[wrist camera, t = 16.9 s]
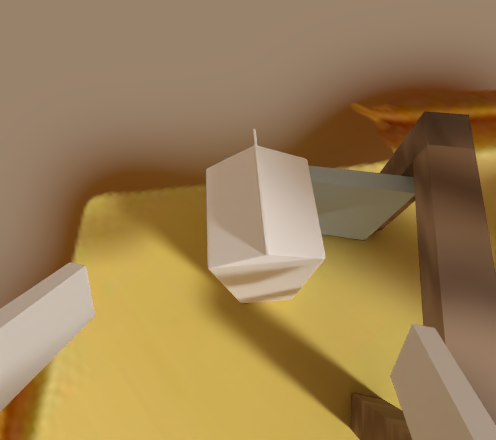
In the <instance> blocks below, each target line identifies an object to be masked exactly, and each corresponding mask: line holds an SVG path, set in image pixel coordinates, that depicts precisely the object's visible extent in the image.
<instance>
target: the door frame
mask: <svg viewBox="0 0 496 440" xmlns="http://www.w3.org/2000/svg"><path fill="white" fill-rule="evenodd" d="M380 173H381V174H390V175H399V176H408V177H414V186H415V195H414V196H413V197H412V198H411V199H410V200H409V201H408V202H407V203H406V204H404V205H403V206H402V207H401V208H400V209H399V210H398V211H397V212H396V213H394V214H393V215H392V216H391V217H390V218H389V219H388V220H387V221H386V222H385V223H383V224H382V225H381V226H380V227H379V228H378V229H377V230H382V229H383V228H384V227H385V226H386V225H387V224H389V223H390V222H391V221H392V220H393V219H394V218H395V217H397V216H398V215H399V214H400V213H401V212H402V211H404V210H405V209H406V208H407V207H408V206H409V205H410V204H412V203H413V202H414V201H415V202H416V218H417V233H418V249H419V265H420V281H421V296H422V312H423V326H427V327H433V328H435V329H436V331H437V332H438V334H439V335H440V337H441V339H442V340H443V342H444V343H445V345H446V347H447V348H448V350H449V351H450V353H451V355H452V356H453V358H454V359H455V361H456V363H457V364H458V366H459V367H460V369H461V371H462V372H463V374H464V375H465V377H466V379H467V380H468V382H469V383H470V385H471V387H472V388H473V390H474V391H475V393H476V395H477V396H478V398H479V399H480V401H481V403H482V404H483V406H484V407H485V409H486V411H487V412H488V414H489V415H490V417H491V419H492V420H493V422H494V423H495V425H496V274H495V268H494V262H493V256H492V250H491V244H490V238H489V233H488V227H487V221H486V215H485V209H484V203H483V197H482V191H481V185H480V179H479V173H478V167H477V161H476V155H475V149H474V143H473V137H472V131H471V125H470V119H469V115H463V114H450V113H438V112H426V111H424V113H423V114H422V116H421V117H420V118H419V120H418V121H417V123H416V124H415V125H414V127H413V128H412V129H411V131H410V132H409V134H408V135H407V136H406V138H405V139H404V140H403V142H402V143H401V145H400V146H399V147H398V149H397V150H396V151H395V153H394V154H393V156H392V157H391V158H390V160H389V161H388V162H387V164H386V165H385V167H384V168H383V169H382V171H381V172H380ZM350 429H351V430H352V431H353V432H354V433H355V434H356V436H357V437H358V438H359V439H360V440H412V437H411V434H410V431H409V429H408V426H407V423H406V420H405V417H404V414H403V411H402V410H400V409H398V408H397V407H395V406H393V405H392V404H390V403H388V402H387V401H385V400H383V399H379V398H375V397H370V396H365V395H360V394H356V393H351V427H350Z"/></svg>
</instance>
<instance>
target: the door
mask: <svg viewBox="0 0 496 440" xmlns="http://www.w3.org/2000/svg"><path fill="white" fill-rule="evenodd" d="M227 158H229V157H227V156H225V157H224V160H225V159H227ZM308 167H309V172H310V177H311V183H312V188H313V193H314V198H315V204H316V209H317V214H318V219H319V225H320V230H321V234H324V235H331V236H338V237H345V238H352V239H359V240H366V239H367V238H368V237H369V236H370V235H371V234H372V233H373V232H375V231H376V230H377V229H378V228H379V227H380V226H381V225H382V224H383V223H385V222H386V221H387V220H388V219H389V218H390V217H391V216H392V215H393V214H394V213H396V212H397V211H398V210H399V209H400V208H401V207H402V206H403V205H404V204H406V203H407V202H408V201H409V200H410V199H411V198H412V197H413V196H414V195H415V186H414V177H408V176H399V175H390V174H381V173H372V172H363V171H354V170H345V169H335V168H325V167H317V166H308Z"/></svg>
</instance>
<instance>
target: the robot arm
mask: <svg viewBox="0 0 496 440" xmlns="http://www.w3.org/2000/svg"><path fill="white" fill-rule="evenodd" d="M94 316H95V312H94V306H93V301H92V296H91V290H90V285H89V280H88V275H87V269H86V265H81V264H75V263H68V264H67V265H65V266H64V267H62V268H61V269H59V270H58V271H56V272H55V273H53V274H52V275H50V276H49V277H47V278H46V279H44V280H43V281H41V282H40V283H38V284H37V285H35V286H34V287H32V288H31V289H30V290H28V291H26V292H25V293H24V294H22V295H21V296H19V297H18V298H16V299H15V300H13V301H12V302H10V303H9V304H7V305H6V306H4V307H3V308H1V309H0V412H1V411H2V410H3V409H4V408H5V407H6V406H7V405H8V404H9V403H10V402H11V401H12V400H13V399H14V397H15V396H16V395H17V394H18V393H19V392H20V391H21V390H22V389H23V388H24V387H25V386H26V385H27V384H28V383H29V382H30V381H31V380H32V379H33V378H34V377H35V376H36V375H37V374H38V373H39V372H40V371H41V370H42V369H43V368H44V367H45V366H46V365H47V364H48V363H49V362H50V361H51V360H52V359H53V358H54V357H55V356H56V355H57V354H58V353H59V352H60V351H61V350H62V349H63V348H64V347H65V346H66V345H67V344H68V343H69V342H70V341H71V340H72V339H73V338H74V337H75V336H76V335H77V334H78V333H79V331H80V330H81V329H82V328H83V327H84V326H85V325H86V324H87V323H88V322H89V321H90V320H91V319H92V318H93V317H94ZM390 376H391V379H392V382H393V385H394V388H395V391H396V394H397V397H398V400H399V402H400V405H401V408H402V411H403V414H404V417H405V420H406V423H407V426H408V429H409V431H410V434H411V437H412V440H496V425H495V423H494V422H493V420H492V419H491V417H490V415H489V414H488V412H487V411H486V409H485V407H484V406H483V404H482V403H481V401H480V399H479V398H478V396H477V395H476V393H475V391H474V390H473V388H472V387H471V385H470V383H469V382H468V380H467V379H466V377H465V375H464V374H463V372H462V371H461V369H460V367H459V366H458V364H457V363H456V361H455V359H454V358H453V356H452V355H451V353H450V351H449V350H448V348H447V347H446V345H445V343H444V342H443V340H442V339H441V337H440V335H439V334H438V332H437V331H436V329H435V328H433V327H427V326H422V325H416V324H412V326H411V328H410V330H409V333H408V335H407V337H406V340H405V342H404V345H403V347H402V349H401V352H400V354H399V356H398V359H397V361H396V363H395V366H394V368H393V371H392V373H391V375H390Z"/></svg>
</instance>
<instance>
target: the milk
mask: <svg viewBox="0 0 496 440" xmlns="http://www.w3.org/2000/svg"><path fill="white" fill-rule="evenodd" d="M253 136H254V145H253V146H252V147H250V148H248V149H246V150H244V151H241V152H239V153H237V154H235V155H233V156H232V157H229V158H227V159H225V160H223V161H221V162H219V163H217V164H215V165H213V166H211V167H209V168H207V169H206V201H207V265H208V269H209V270H210V271H211V272H212V273H213V275H214V276H215V277H216V278H217V279H218V280H219V281H220V282H221V283H222V284H223V285H224V286H225V287H226V288H227V289H228V290H229V291H230V292H231V294H232V295H233V296H234V297H235V298H236V299H237V300H238V301H239V302H240V303H251V302H263V301H275V300H287V299H292V298H293V297H294V296H295V295H296V293H297V292H298V291H299V290H300V289H301V287H302V286H303V285H304V284H305V283H306V281H307V280H308V279H309V278H310V276H311V275H312V274H313V273H314V272H315V270H316V269H317V268H318V267H319V266H320V264H321V263H322V262H323V261H324V260H325V258H326V256H325V251H324V246H323V240H322V235H321V230H320V225H319V219H318V214H317V209H316V204H315V198H314V193H313V188H312V183H311V177H310V172H309V167H308V162H307V159H305V158H302V157H298V156H294V155H291V154H287V153H283V152H279V151H276V150H272V149H268V148H265V147H261V146H258V145H257V137H256V129H253Z"/></svg>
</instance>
